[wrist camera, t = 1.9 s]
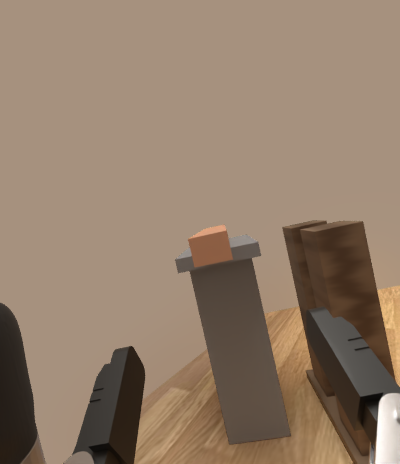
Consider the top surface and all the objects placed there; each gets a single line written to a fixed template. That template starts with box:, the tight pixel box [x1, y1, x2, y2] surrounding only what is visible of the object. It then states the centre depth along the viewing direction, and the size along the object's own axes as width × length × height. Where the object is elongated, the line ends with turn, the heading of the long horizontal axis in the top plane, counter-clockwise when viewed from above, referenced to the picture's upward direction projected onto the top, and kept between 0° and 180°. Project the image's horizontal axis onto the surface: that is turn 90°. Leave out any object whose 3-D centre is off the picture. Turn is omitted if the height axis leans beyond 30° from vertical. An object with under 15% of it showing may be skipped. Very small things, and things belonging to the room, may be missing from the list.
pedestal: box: [175, 235, 291, 444], centre depth 44 cm, size 12×16×32 cm
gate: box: [283, 221, 396, 464], centre depth 41 cm, size 8×21×32 cm, turn 176°
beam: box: [188, 225, 233, 267], centre depth 38 cm, size 26×4×3 cm, turn 176°
